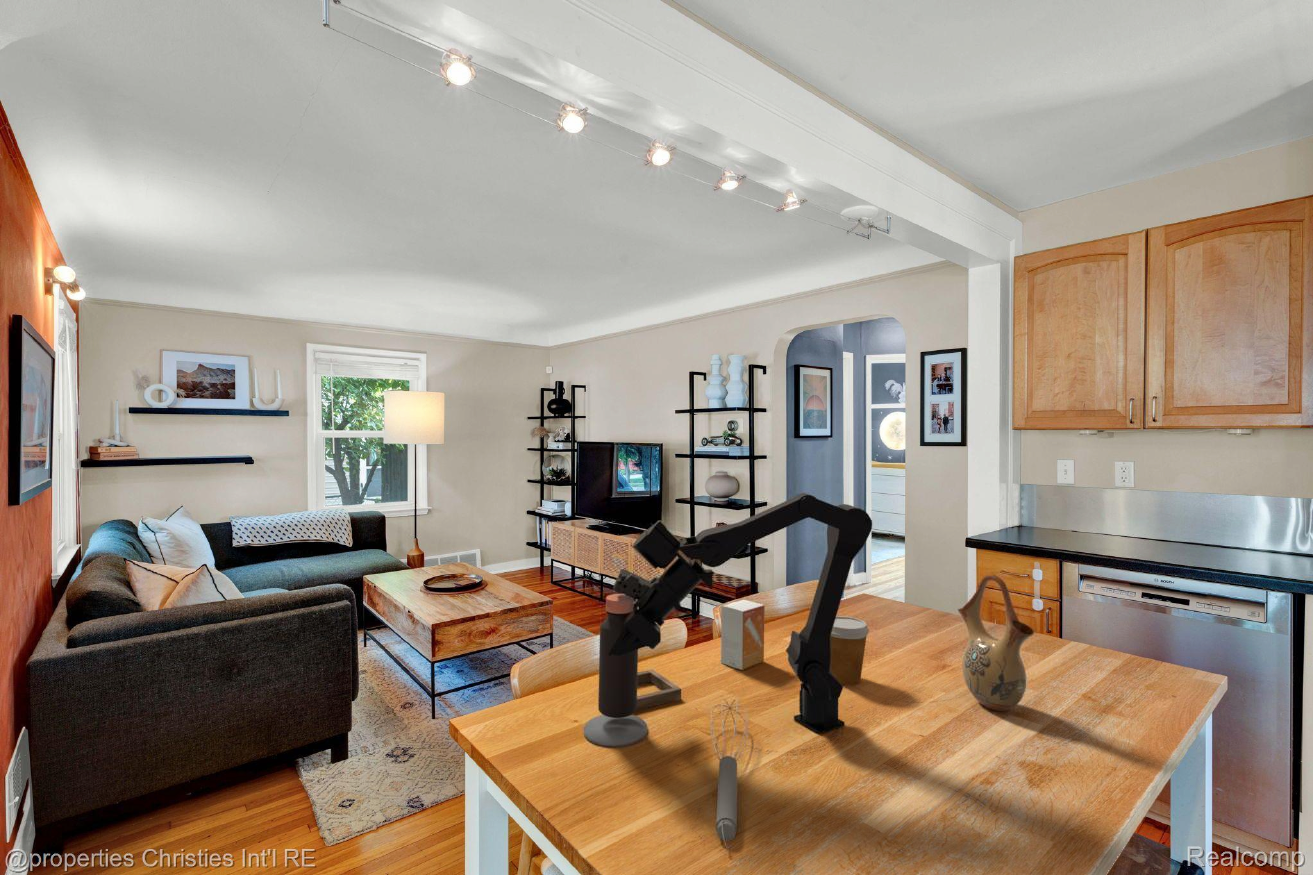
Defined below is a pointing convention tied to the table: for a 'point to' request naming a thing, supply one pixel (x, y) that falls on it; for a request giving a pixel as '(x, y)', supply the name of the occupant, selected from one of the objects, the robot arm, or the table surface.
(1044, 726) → the table surface
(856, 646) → the disposable coffee cup
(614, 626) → the vinegar
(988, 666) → the ceramic vessel
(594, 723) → the slate coaster
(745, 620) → the small box
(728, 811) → the kitchen whisk
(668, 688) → the bottle caddy
